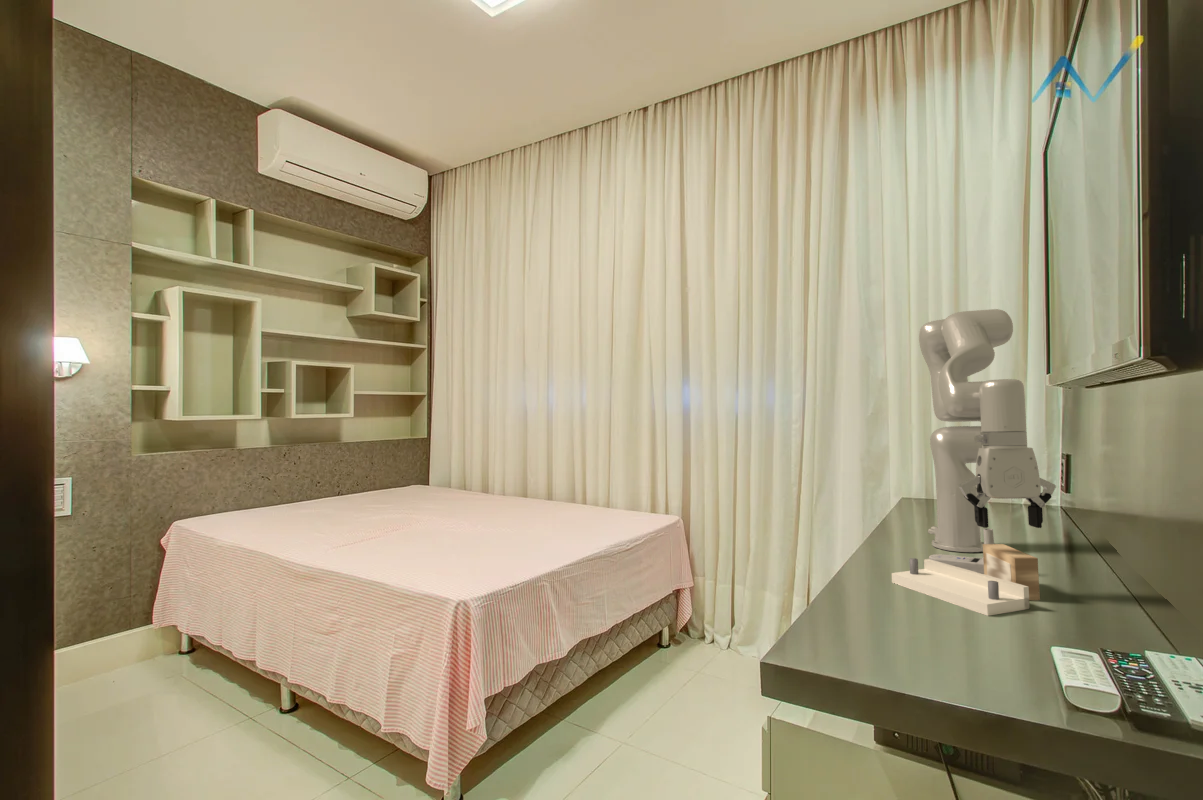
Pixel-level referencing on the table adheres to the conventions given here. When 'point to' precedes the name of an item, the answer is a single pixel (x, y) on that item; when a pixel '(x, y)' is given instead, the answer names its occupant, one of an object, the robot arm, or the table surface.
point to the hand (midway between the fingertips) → (1008, 526)
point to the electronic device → (966, 562)
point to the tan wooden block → (1012, 567)
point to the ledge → (964, 587)
